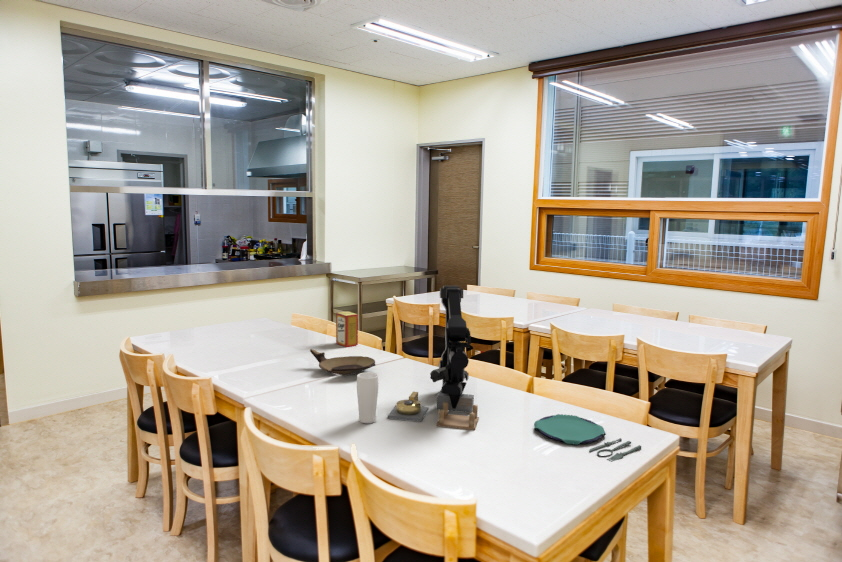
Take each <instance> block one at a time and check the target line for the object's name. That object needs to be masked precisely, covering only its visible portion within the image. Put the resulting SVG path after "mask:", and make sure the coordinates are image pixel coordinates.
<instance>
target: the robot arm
mask: <svg viewBox="0 0 842 562" xmlns="http://www.w3.org/2000/svg"><path fill="white" fill-rule="evenodd" d="M439 298H440V299H441V304H442V306H443V307H444V309H445V328H444V336H445V337H444V338H445V349H444V350H443V352H442V354H441V357H440V358H441V359H440V360H439V364H438V368H436V369H433V370H432V371H430V373H429V375H430V380H432V382H433V383H436V382H438V381H441V380H442V386H441V389H440V390H439V392H442V393H444V394H449V396H450V400H451V404H452V408H454V409H455V408H456V406H457V404H458V401H459V399H460V397H461V394H464V390H465V388H466V385H467V381H468V380H469V377H470V375H469V372H468V371H467V370H465V369H466V368H467V367H468V366H469V363H470V361H469V360H470V359H469V357H468V355H467V353H466V348H470V346H471V343H472V337H471V331H470V329H469V327H467V322H466V320H465V318H463V316H462V308H461V307H462V305H461V302H462V299H464V288H461V287H460V285H443V286H442V288H441V287H440V288H439Z"/></svg>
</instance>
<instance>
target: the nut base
mask: <svg viewBox="0 0 842 562" xmlns="http://www.w3.org/2000/svg"><path fill="white" fill-rule="evenodd" d="M396 407H397V404H395V406H394V407H393V408H392V409H391V411H390V412H389V413H388V414H387V419H392V420H401V421H409V422H410V421H411V422H419V423H421V422H422V421H423V419H424V417H425V416H426V414H427V413H428V411H429V410H430V409H429V408H430V407H429V406H424V405H423V406H422V405H421V411H420V412H419V413H417V414H412V415H406V414H401V413H398V412H397V410H396Z"/></svg>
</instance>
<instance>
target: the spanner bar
mask: <svg viewBox="0 0 842 562" xmlns="http://www.w3.org/2000/svg"><path fill="white" fill-rule="evenodd" d="M474 397H475V394H466V393H462V394H461V397H460V399H459V401H458V404H457V406H456V408H455V409H454V408H452V404H451V400H450V396H449V394H444V393H442V392H440V391H438V393H437V394H436V410H438V411H439V410H443V402H448V412H449V411H450V412H456V413H457V412H459V413H468V414H469V413H472V411H473V405H475V403H474V402H475V399H474Z"/></svg>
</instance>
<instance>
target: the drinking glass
mask: <svg viewBox="0 0 842 562" xmlns="http://www.w3.org/2000/svg"><path fill="white" fill-rule="evenodd" d="M356 395H357V404H358V420H359V422H360V423H361V424H366V425H367V424H373V423H375V422H376V420H377V408H378V407H377V406H378V396H379V374H377V372H372V371H371V372H366V371H365V372H359V373H357V375H356Z"/></svg>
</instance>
